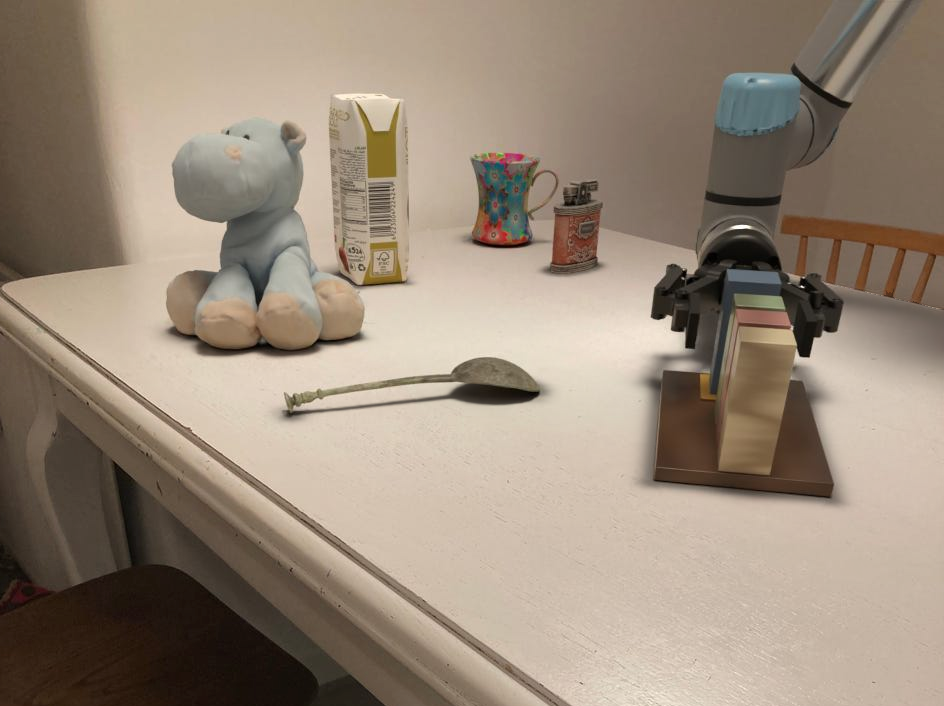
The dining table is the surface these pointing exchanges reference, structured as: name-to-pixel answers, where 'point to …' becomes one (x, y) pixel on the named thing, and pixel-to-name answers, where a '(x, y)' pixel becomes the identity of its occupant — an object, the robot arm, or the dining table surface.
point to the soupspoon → (439, 380)
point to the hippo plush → (255, 245)
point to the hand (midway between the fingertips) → (749, 335)
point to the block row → (744, 413)
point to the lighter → (576, 228)
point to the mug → (505, 196)
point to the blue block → (733, 285)
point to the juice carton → (370, 187)
